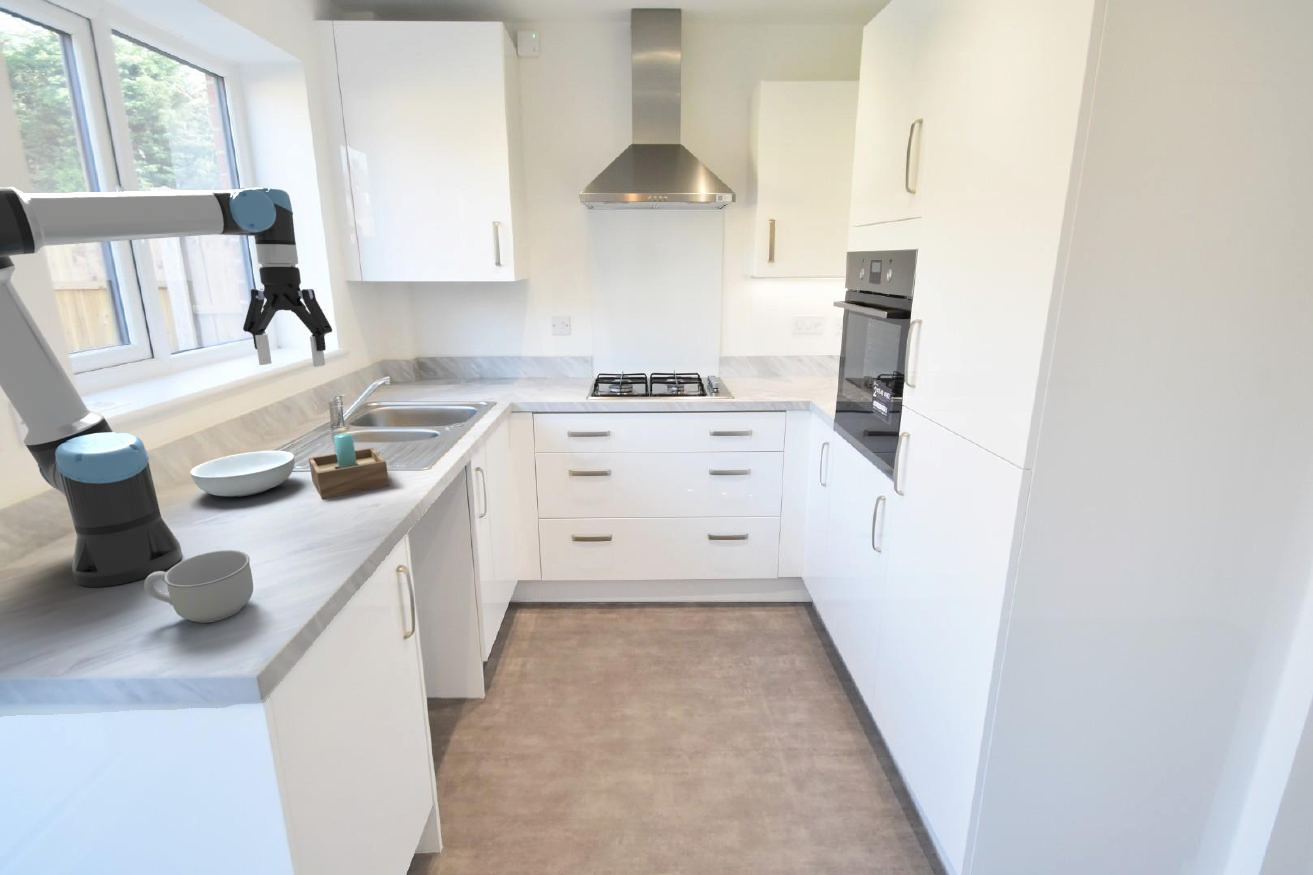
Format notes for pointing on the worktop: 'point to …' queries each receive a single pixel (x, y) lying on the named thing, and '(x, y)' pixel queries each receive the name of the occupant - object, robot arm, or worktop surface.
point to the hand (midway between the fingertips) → (292, 365)
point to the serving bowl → (243, 473)
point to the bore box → (348, 473)
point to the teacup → (206, 585)
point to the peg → (345, 450)
